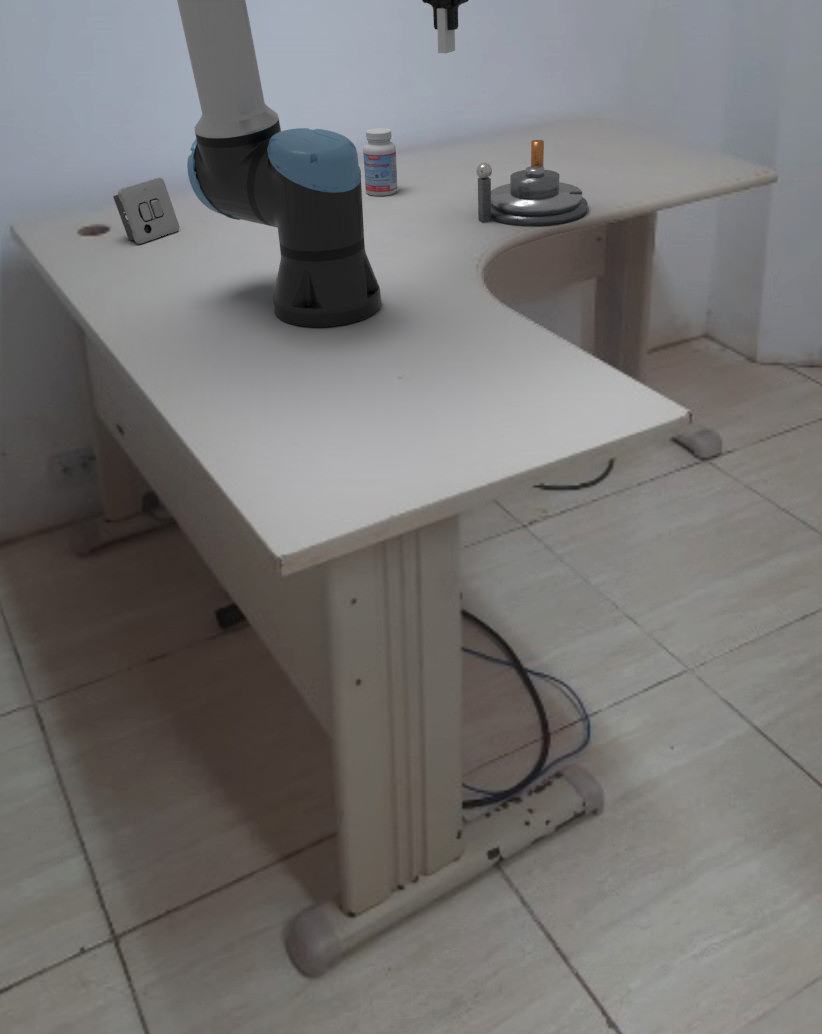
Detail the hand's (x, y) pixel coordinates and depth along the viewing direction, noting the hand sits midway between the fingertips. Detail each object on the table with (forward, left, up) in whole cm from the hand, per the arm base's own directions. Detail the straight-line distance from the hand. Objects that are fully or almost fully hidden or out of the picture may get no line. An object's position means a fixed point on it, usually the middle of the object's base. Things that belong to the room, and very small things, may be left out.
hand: (446, 51), depth 172 cm
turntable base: (-7, -13, -26) cm, 30 cm away
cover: (-7, -13, -23) cm, 28 cm away
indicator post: (-7, -3, -26) cm, 27 cm away
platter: (-7, -13, -25) cm, 29 cm away
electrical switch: (+19, +49, -27) cm, 59 cm away
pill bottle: (+20, +4, -27) cm, 34 cm away
